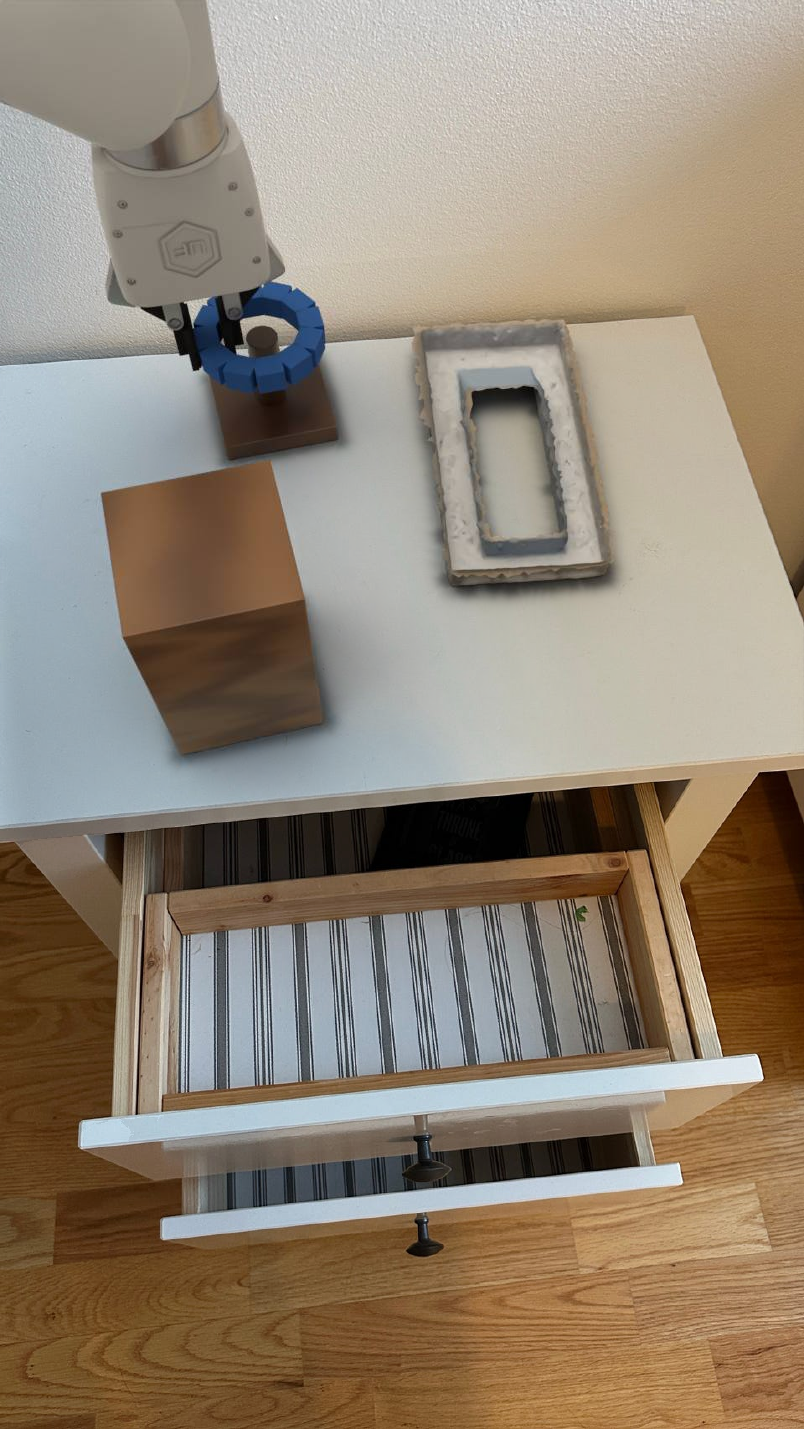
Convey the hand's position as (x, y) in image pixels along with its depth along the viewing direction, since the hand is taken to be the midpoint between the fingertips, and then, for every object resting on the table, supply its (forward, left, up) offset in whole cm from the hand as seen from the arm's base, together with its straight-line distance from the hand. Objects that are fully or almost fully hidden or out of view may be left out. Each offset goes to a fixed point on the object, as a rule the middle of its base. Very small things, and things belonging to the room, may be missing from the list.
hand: (212, 352), depth 74 cm
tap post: (+4, 0, -7) cm, 8 cm away
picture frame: (+21, -10, -7) cm, 24 cm away
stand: (-3, -24, -7) cm, 25 cm away
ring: (+4, 0, 0) cm, 4 cm away
